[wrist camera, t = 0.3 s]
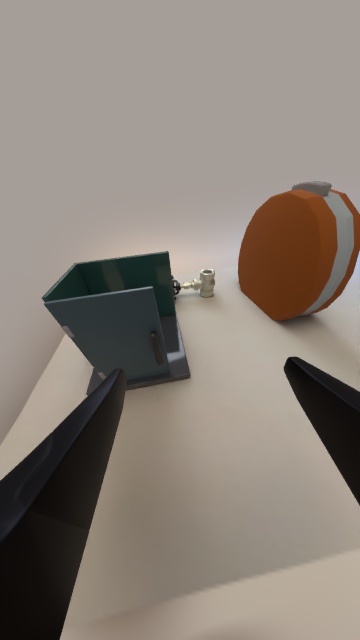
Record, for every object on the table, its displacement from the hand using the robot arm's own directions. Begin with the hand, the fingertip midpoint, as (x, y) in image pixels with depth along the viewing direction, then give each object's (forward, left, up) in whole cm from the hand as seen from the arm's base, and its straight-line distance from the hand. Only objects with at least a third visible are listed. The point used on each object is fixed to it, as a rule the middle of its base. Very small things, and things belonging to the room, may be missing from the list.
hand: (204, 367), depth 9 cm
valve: (+33, -1, -16) cm, 37 cm away
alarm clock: (+29, -21, -16) cm, 39 cm away
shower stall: (+15, +10, -16) cm, 24 cm away
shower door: (+7, +9, -14) cm, 18 cm away
